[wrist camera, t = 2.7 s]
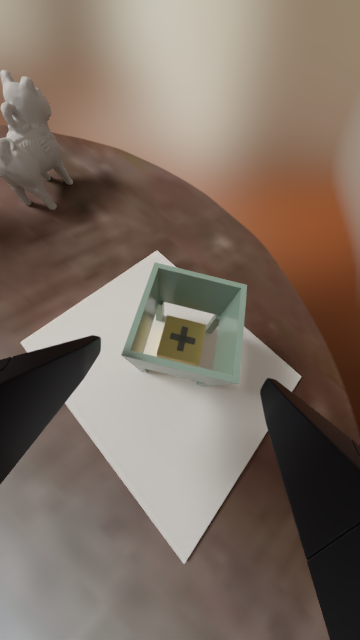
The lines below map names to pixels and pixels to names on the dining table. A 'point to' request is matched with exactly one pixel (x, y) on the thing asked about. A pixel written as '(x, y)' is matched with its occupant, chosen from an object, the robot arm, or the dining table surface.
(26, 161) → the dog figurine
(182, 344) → the plus sign cube
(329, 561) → the robot arm
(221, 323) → the green hollow square frame
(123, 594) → the dining table surface
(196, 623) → the dining table surface
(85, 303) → the white rectangular sheet
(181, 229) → the dining table surface
